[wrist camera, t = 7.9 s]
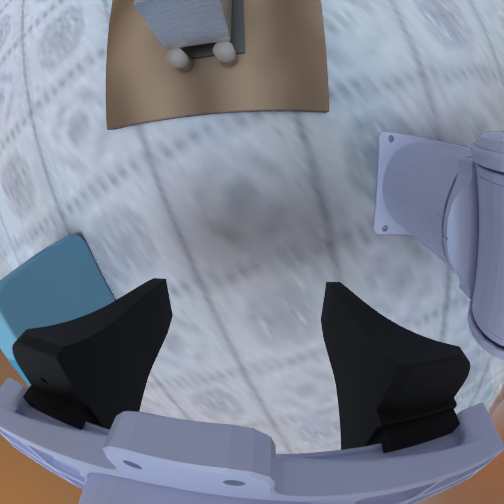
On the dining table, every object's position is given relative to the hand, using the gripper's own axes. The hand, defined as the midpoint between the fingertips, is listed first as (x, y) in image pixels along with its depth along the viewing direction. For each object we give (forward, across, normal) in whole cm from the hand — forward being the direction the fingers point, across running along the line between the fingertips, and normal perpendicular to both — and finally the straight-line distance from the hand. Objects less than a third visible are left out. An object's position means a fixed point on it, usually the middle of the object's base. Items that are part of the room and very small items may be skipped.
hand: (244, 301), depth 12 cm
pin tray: (+9, +3, -18) cm, 20 cm away
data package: (+10, +16, +6) cm, 20 cm away
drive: (+7, +3, -17) cm, 19 cm away
